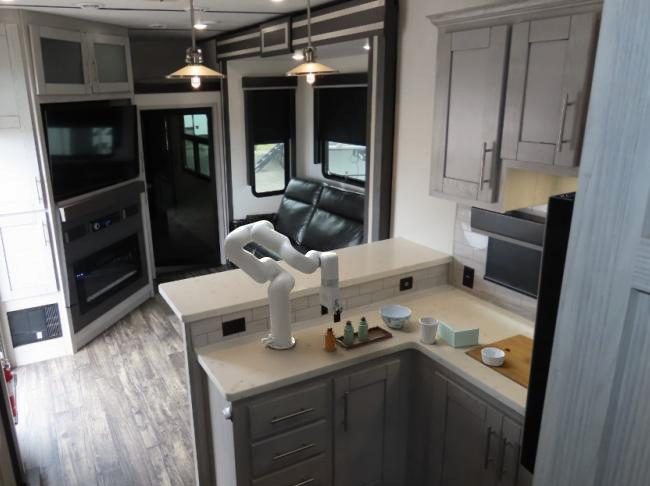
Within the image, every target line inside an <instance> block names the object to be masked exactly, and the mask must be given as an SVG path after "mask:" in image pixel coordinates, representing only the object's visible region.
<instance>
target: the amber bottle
mask: <svg viewBox="0 0 650 486" xmlns="http://www.w3.org/2000/svg"><path fill="white" fill-rule="evenodd" d="M335 337H336V333H335V331H334V329H333V326H327V328H326V332H324V350H326V351H329V352H330V351H331V352H332V351H335V350H336V342H335Z"/></svg>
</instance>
